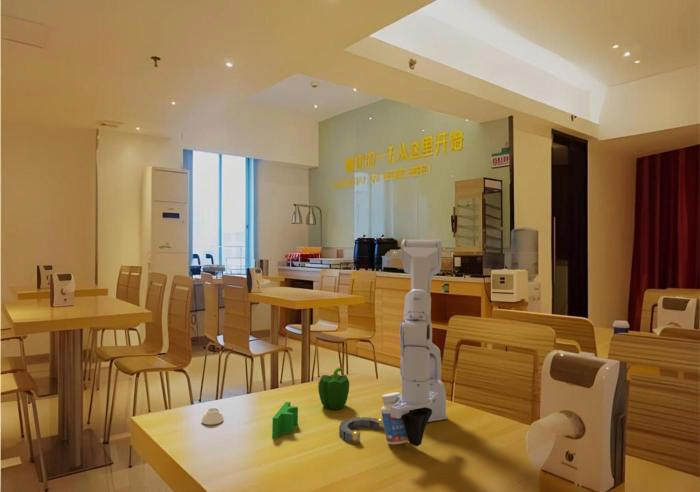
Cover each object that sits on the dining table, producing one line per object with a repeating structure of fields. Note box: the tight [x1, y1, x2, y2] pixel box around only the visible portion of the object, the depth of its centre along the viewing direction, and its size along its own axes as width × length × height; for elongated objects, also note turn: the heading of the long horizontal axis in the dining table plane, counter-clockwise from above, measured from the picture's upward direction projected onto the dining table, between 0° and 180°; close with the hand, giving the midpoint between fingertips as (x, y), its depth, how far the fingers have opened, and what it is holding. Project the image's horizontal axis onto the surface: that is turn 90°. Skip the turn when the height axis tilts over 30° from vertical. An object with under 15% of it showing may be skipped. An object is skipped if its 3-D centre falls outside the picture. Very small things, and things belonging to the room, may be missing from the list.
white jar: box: [201, 407, 225, 426], centre depth 110 cm, size 5×3×5 cm
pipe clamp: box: [271, 401, 299, 439], centre depth 106 cm, size 11×4×5 cm, turn 173°
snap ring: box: [338, 416, 385, 445], centre depth 105 cm, size 8×12×2 cm, turn 143°
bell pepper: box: [317, 366, 350, 410], centre depth 122 cm, size 8×8×10 cm
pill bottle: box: [380, 391, 409, 446], centre depth 99 cm, size 6×5×10 cm
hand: (415, 444), depth 96 cm, fingers closed, pressing on pill bottle
